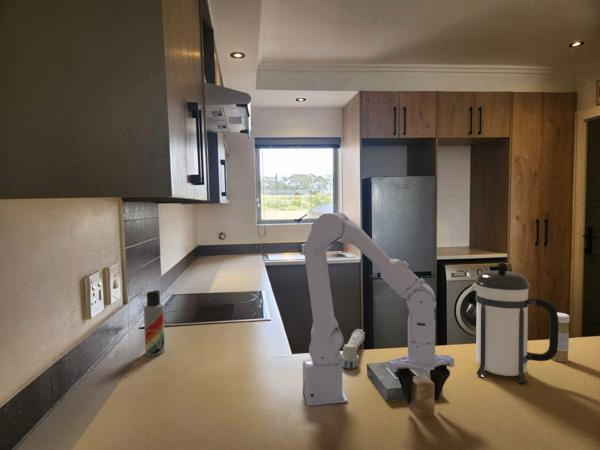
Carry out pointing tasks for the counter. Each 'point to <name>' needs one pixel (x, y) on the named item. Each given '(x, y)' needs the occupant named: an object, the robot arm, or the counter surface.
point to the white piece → (352, 349)
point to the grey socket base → (390, 380)
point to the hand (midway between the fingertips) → (421, 400)
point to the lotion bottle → (154, 324)
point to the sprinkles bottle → (562, 338)
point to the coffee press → (507, 324)
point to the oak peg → (422, 396)
